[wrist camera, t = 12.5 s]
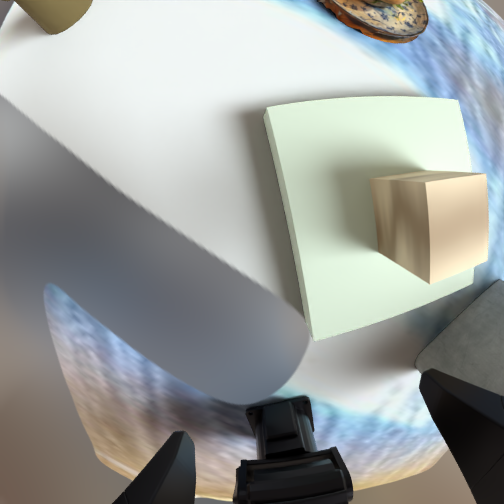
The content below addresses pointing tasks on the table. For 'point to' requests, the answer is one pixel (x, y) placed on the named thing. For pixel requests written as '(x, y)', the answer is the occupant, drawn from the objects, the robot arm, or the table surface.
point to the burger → (382, 17)
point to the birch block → (432, 221)
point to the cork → (55, 12)
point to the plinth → (357, 199)
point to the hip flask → (472, 343)
